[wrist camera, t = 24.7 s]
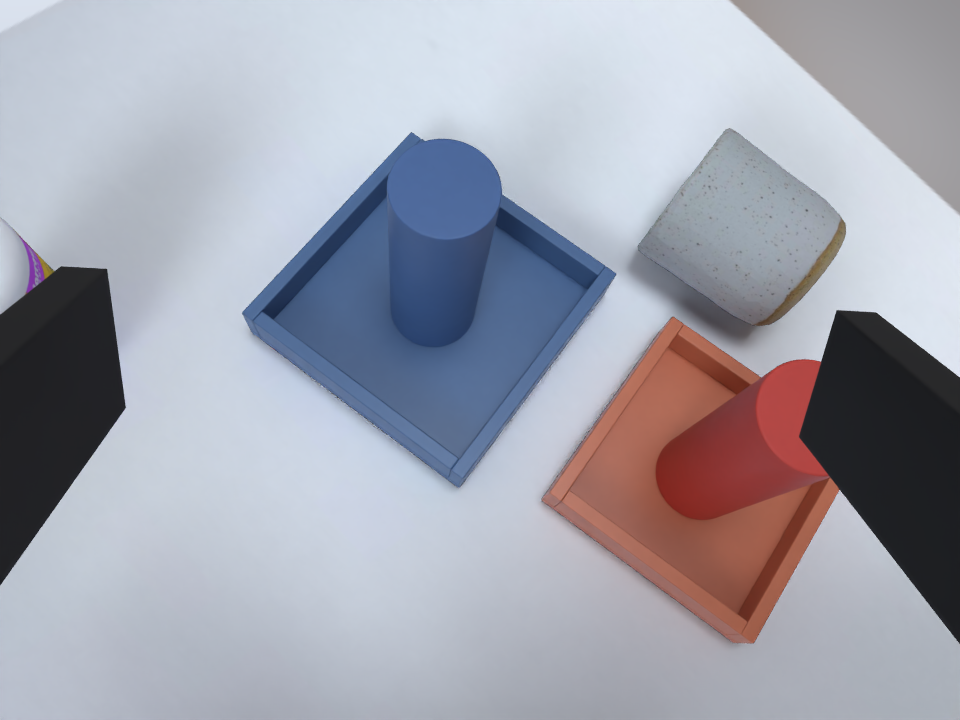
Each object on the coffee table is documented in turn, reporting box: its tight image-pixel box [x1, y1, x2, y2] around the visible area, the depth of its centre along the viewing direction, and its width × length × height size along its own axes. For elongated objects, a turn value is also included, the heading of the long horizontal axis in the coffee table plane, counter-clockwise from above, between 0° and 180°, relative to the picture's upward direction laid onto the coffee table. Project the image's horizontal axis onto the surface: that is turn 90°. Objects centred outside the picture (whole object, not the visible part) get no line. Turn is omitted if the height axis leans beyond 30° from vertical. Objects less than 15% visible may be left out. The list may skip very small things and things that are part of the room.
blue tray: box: [242, 132, 616, 487], centre depth 41 cm, size 13×13×3 cm
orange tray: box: [542, 317, 840, 644], centre depth 39 cm, size 11×11×2 cm
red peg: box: [656, 359, 830, 520], centre depth 34 cm, size 4×4×12 cm
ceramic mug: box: [638, 128, 846, 326], centre depth 41 cm, size 11×8×8 cm
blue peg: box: [387, 139, 502, 347], centre depth 36 cm, size 4×4×12 cm
